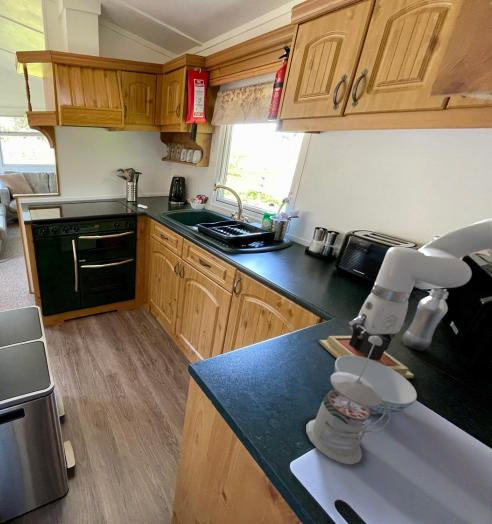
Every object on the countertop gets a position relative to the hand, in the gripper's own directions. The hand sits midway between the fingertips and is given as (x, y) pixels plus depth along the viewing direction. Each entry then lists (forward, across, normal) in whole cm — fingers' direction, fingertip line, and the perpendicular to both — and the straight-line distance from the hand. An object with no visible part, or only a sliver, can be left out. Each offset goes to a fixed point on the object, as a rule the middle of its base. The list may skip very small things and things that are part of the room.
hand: (367, 347), depth 83 cm
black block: (+3, 0, 0) cm, 3 cm away
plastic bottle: (+4, +23, +5) cm, 24 cm away
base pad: (+4, 0, 0) cm, 4 cm away
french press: (+4, -28, -24) cm, 37 cm away
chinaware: (+4, -14, -15) cm, 21 cm away
